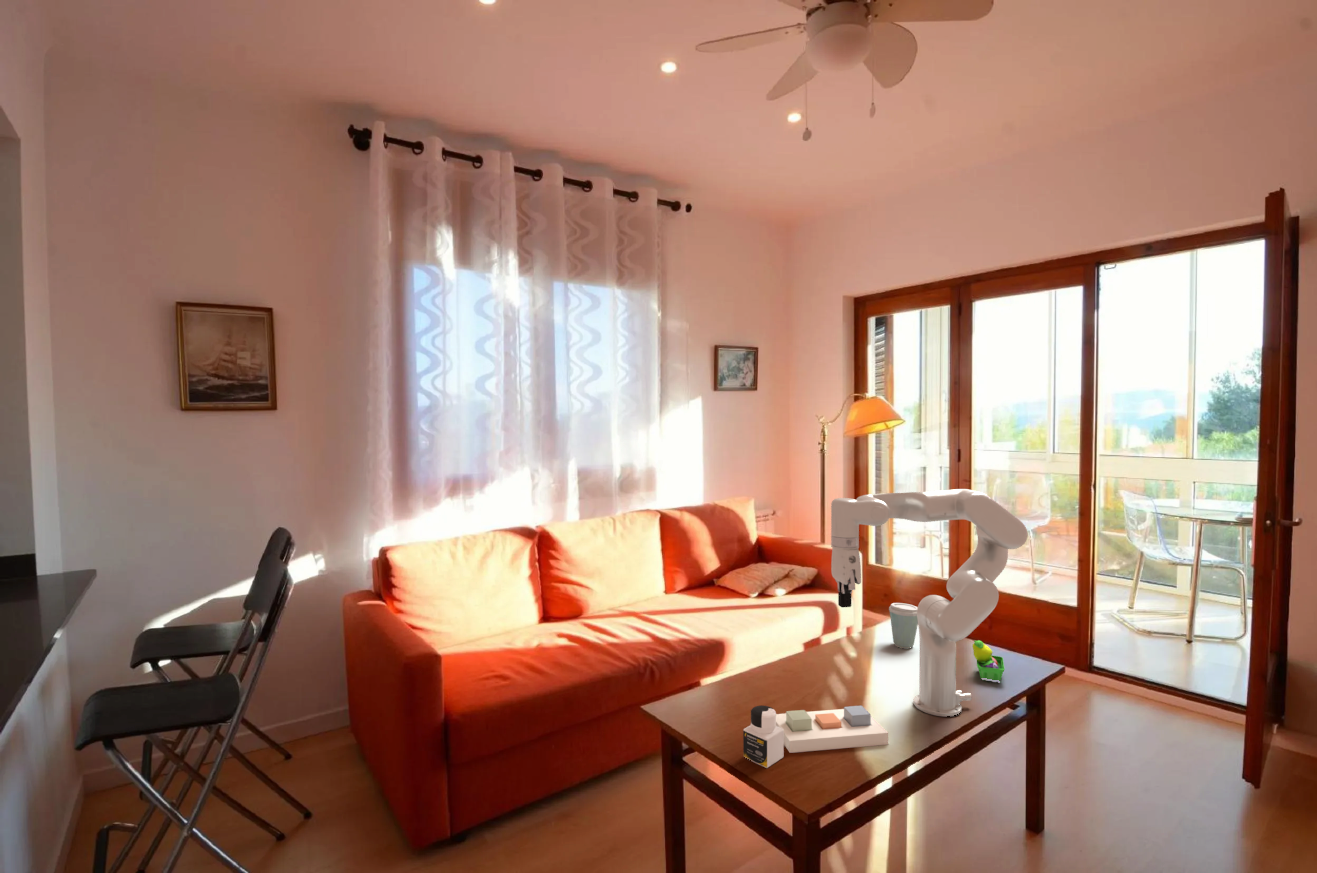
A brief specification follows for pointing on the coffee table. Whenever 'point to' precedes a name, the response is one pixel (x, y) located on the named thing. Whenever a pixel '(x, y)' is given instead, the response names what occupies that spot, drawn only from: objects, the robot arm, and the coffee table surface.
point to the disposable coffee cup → (903, 624)
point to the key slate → (857, 716)
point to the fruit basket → (988, 662)
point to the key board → (831, 734)
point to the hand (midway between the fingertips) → (844, 606)
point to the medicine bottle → (763, 737)
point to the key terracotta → (827, 721)
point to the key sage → (798, 720)
